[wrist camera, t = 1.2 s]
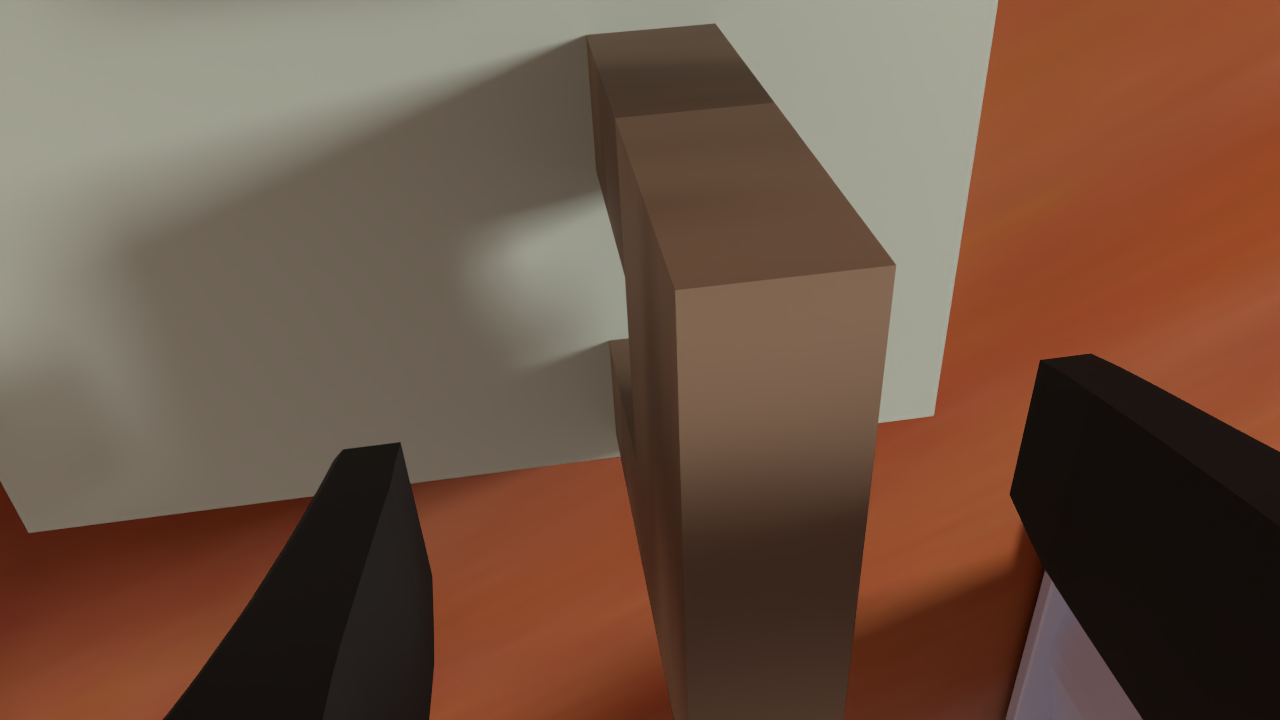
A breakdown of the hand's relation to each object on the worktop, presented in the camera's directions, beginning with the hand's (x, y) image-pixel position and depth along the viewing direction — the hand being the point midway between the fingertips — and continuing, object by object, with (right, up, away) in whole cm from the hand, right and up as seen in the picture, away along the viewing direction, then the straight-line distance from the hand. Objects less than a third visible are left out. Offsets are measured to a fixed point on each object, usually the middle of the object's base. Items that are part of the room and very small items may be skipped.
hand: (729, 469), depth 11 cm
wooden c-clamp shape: (-1, +3, +4) cm, 5 cm away
